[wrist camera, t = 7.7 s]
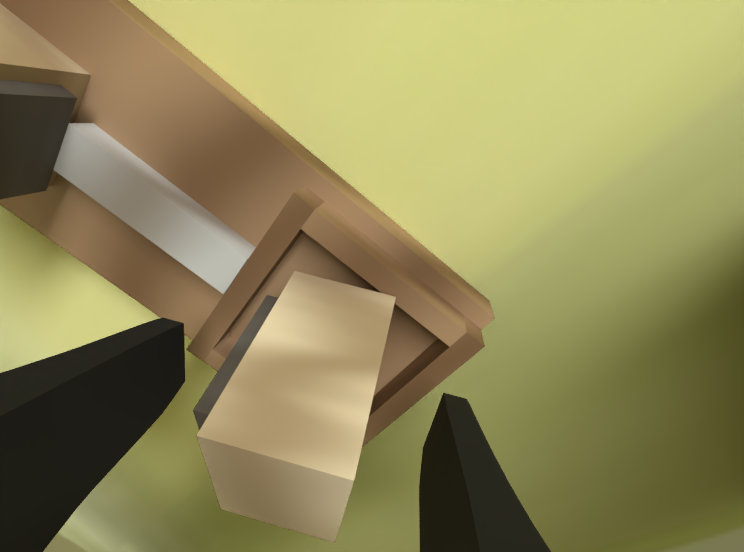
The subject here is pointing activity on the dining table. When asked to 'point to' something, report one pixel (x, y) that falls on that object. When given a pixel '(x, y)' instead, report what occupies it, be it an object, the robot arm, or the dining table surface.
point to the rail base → (203, 194)
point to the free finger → (295, 405)
